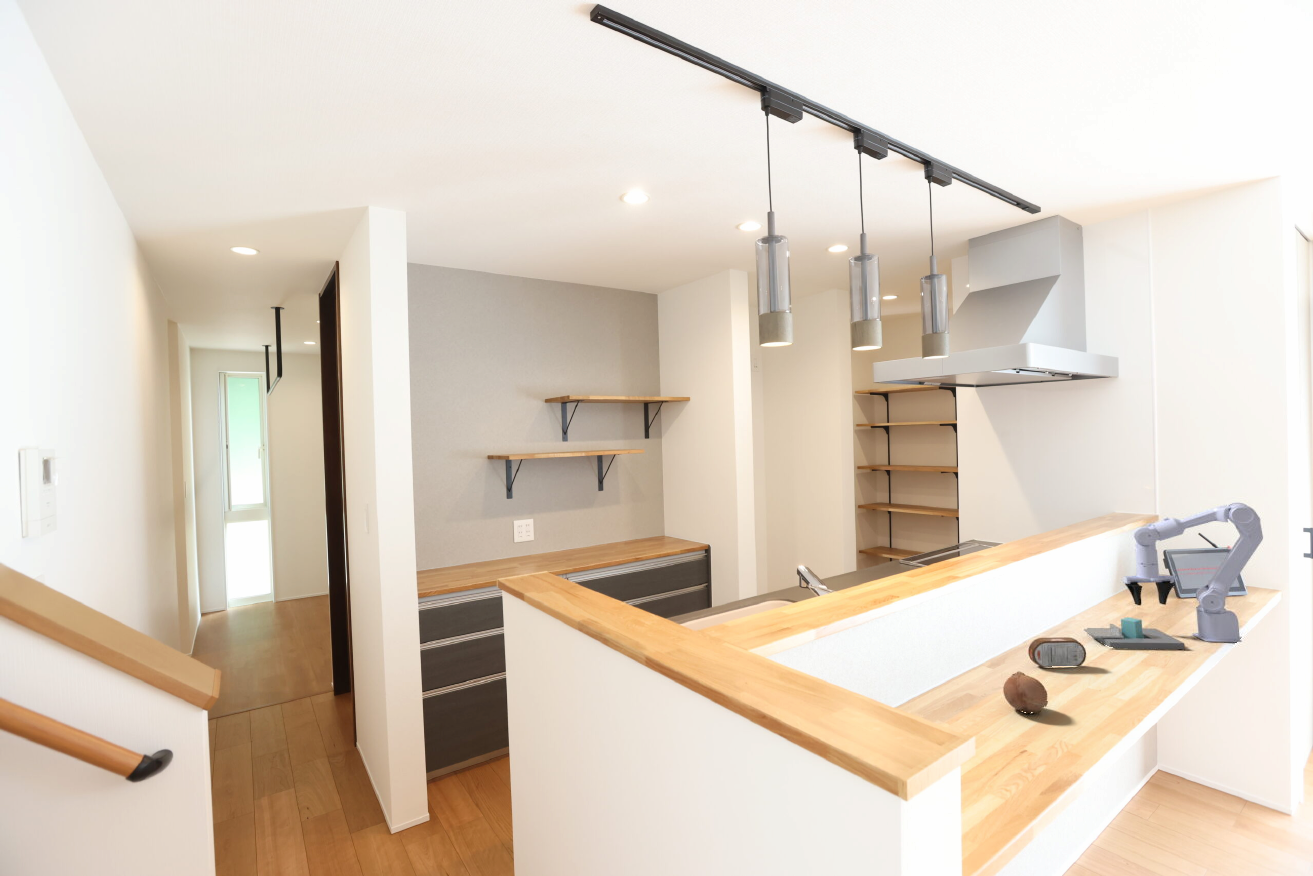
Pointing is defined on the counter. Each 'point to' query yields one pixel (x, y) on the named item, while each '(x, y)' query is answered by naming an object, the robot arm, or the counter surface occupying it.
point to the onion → (1025, 693)
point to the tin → (1057, 652)
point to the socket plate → (1144, 641)
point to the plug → (1132, 628)
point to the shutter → (1106, 632)
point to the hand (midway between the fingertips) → (1150, 604)
